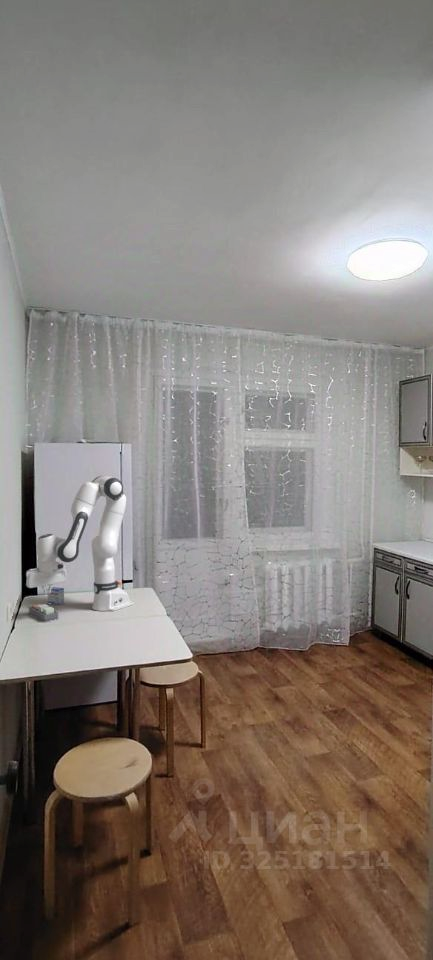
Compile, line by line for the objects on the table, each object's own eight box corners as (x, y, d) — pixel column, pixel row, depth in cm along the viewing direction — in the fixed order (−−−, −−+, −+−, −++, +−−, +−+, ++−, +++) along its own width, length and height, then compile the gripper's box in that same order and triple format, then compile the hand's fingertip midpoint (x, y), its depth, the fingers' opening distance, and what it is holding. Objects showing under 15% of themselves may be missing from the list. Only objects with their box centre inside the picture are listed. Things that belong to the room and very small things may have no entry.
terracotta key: (40, 609, 265) (40, 604, 265) (43, 611, 262) (43, 605, 262) (32, 611, 262) (32, 605, 262) (36, 612, 259) (35, 607, 259)
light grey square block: (45, 609, 260) (45, 604, 260) (48, 611, 257) (48, 605, 257) (37, 611, 257) (37, 605, 257) (41, 613, 254) (40, 607, 254)
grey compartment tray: (42, 610, 267) (41, 604, 267) (58, 619, 252) (58, 612, 252) (29, 613, 262) (28, 606, 262) (44, 622, 247) (44, 615, 247)
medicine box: (47, 604, 280) (47, 588, 279) (52, 601, 284) (52, 586, 284) (59, 605, 277) (59, 589, 277) (64, 602, 282) (64, 587, 281)
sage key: (50, 612, 255) (50, 606, 255) (54, 614, 252) (53, 608, 252) (43, 614, 252) (42, 608, 252) (46, 615, 249) (46, 610, 249)
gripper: (28, 570, 243) (29, 598, 243) (68, 564, 256) (68, 590, 257) (23, 568, 247) (24, 596, 248) (62, 562, 261) (63, 588, 261)
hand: (47, 593), depth 252 cm, fingers closed
